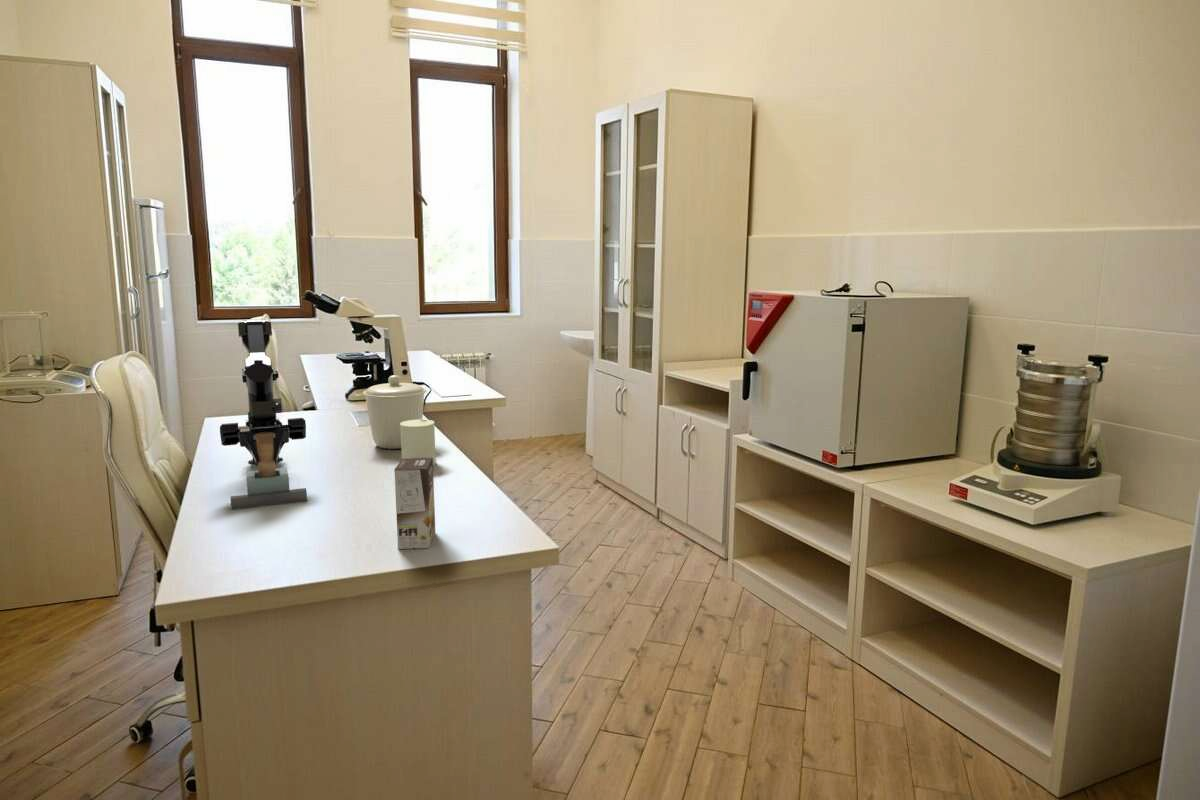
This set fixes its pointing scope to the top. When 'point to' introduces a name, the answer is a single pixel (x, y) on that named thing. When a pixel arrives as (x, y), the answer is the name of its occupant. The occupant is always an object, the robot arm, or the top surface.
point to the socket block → (267, 482)
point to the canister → (393, 409)
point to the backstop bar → (268, 498)
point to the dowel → (265, 454)
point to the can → (418, 439)
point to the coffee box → (415, 503)
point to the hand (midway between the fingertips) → (266, 461)
